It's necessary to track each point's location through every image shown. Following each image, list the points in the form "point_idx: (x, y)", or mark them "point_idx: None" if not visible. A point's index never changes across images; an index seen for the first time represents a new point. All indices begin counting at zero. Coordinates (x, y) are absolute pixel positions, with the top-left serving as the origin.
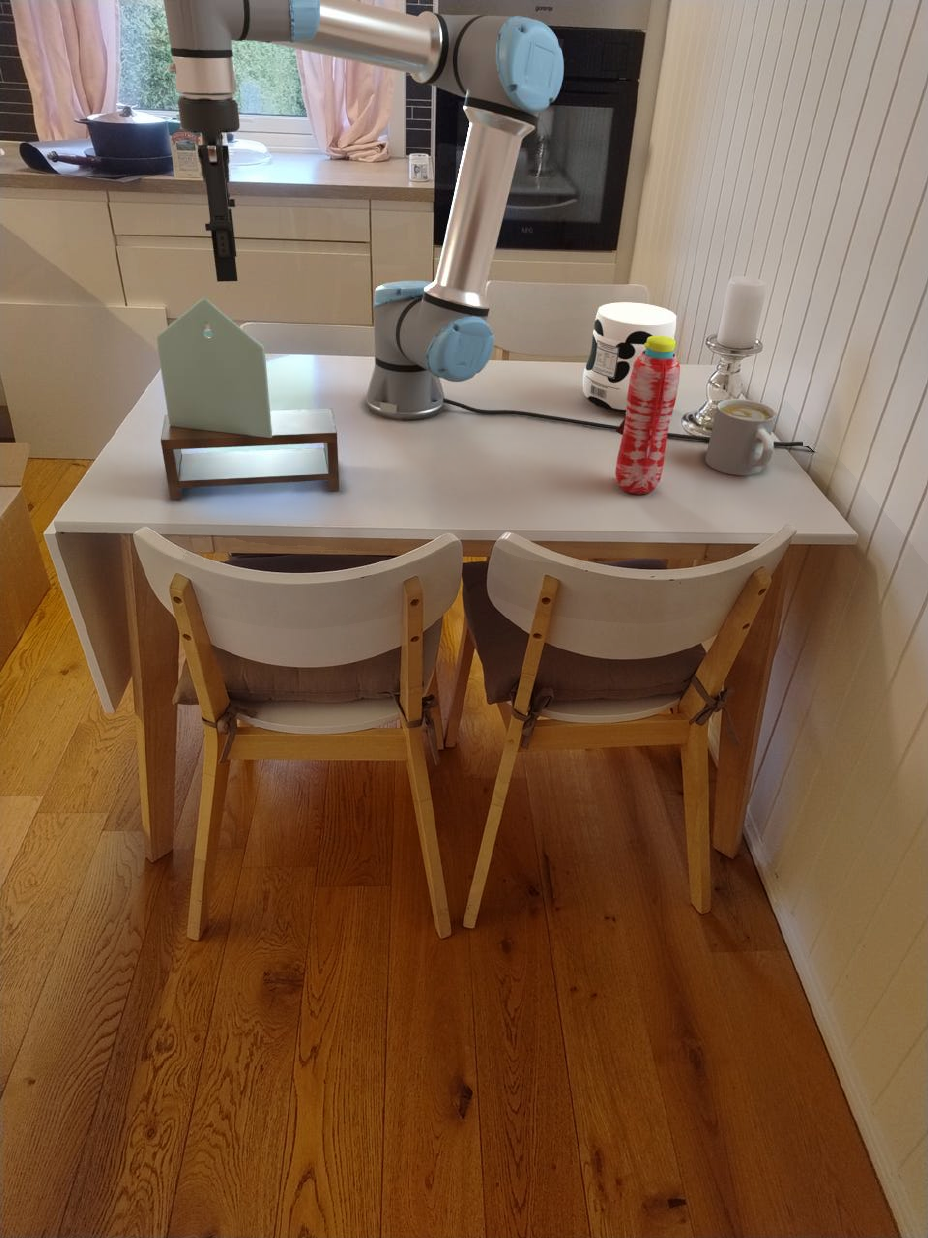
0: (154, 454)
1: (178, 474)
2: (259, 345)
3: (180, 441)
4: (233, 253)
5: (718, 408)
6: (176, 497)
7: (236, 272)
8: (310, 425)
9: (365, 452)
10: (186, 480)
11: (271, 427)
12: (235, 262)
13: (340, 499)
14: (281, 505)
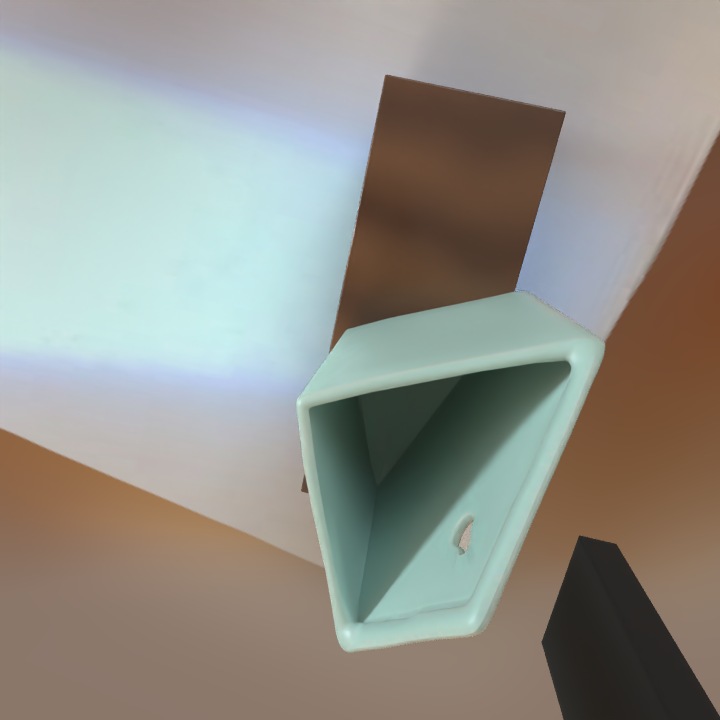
0: (236, 453)
1: None
2: (601, 360)
3: None
4: (704, 700)
5: None
6: None
7: (635, 579)
8: (487, 172)
9: (351, 10)
10: None
11: (534, 295)
12: (662, 629)
13: (567, 148)
14: (541, 277)
